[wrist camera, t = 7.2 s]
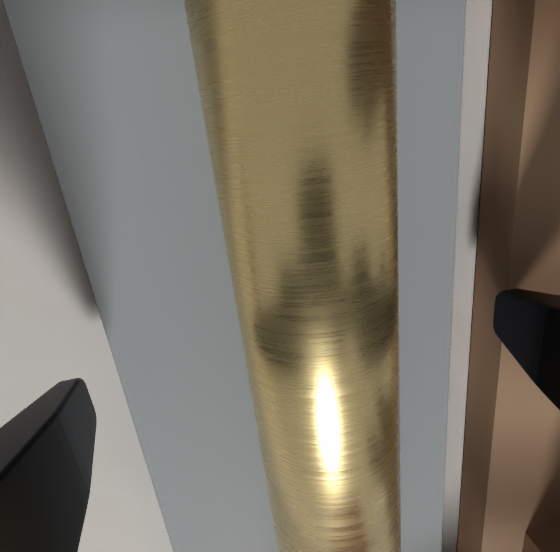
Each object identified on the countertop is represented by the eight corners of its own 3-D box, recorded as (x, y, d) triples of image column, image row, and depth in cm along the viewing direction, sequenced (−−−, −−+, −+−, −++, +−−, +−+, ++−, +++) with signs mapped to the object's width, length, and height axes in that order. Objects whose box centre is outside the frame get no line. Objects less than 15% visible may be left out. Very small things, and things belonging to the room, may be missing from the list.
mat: (465, -544, 6) (493, -609, 6) (429, 603, 16) (437, 621, 16) (-170, -607, 5) (-214, -696, 4) (216, 670, 15) (217, 692, 14)
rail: (67, -545, 5) (19, -1292, 2) (306, -480, 6) (470, -972, 3) (289, 659, 14) (329, 782, 12) (368, 617, 15) (423, 724, 12)
